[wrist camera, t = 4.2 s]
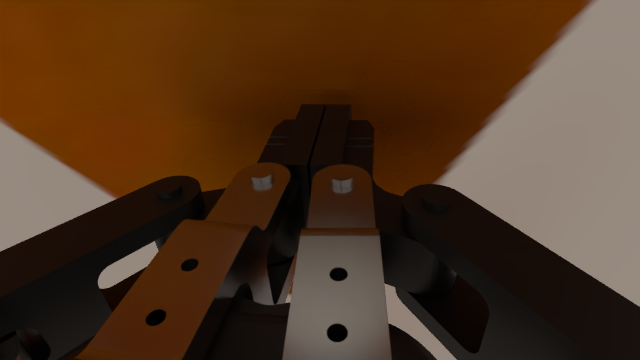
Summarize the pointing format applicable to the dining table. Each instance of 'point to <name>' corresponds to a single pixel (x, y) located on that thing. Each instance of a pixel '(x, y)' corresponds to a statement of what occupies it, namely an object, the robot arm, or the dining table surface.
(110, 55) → the dining table surface
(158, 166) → the dining table surface
